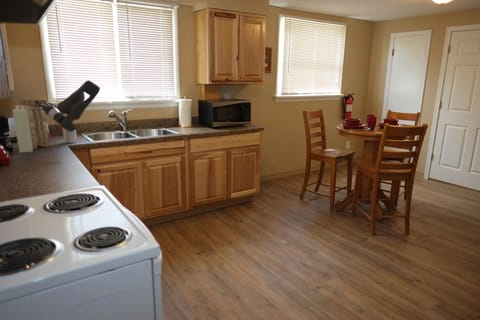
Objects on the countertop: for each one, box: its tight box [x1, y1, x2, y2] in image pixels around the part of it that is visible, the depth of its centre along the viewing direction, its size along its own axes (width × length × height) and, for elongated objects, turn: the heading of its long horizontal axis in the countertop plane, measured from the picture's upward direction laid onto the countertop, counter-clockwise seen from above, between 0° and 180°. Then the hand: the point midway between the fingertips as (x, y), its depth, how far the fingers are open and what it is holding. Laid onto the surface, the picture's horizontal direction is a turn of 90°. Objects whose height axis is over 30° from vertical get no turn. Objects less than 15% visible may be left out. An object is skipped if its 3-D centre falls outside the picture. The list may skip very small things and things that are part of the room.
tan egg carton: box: [14, 104, 50, 150], centre depth 250 cm, size 16×12×32 cm
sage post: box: [12, 109, 34, 154], centre depth 233 cm, size 8×8×30 cm
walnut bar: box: [19, 98, 47, 106], centre depth 243 cm, size 25×4×4 cm, turn 65°
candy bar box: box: [46, 121, 51, 142], centre depth 271 cm, size 11×5×16 cm, turn 146°
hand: (38, 100), depth 240 cm, fingers closed on walnut bar, 4 cm apart
